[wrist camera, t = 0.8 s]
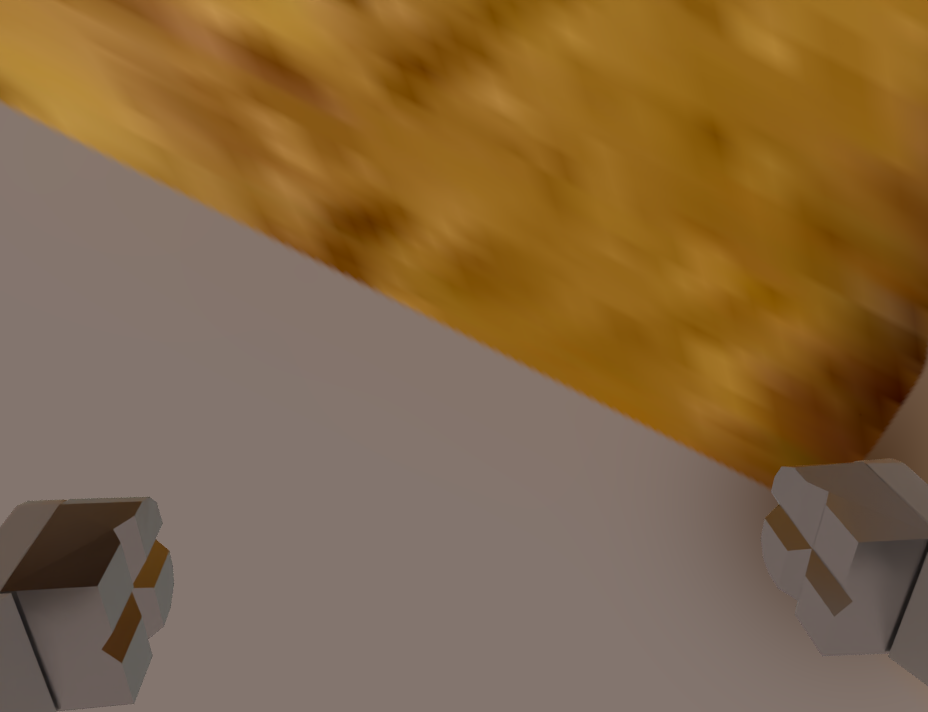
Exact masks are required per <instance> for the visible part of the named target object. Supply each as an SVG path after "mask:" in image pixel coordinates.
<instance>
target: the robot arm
mask: <svg viewBox="0 0 928 712" xmlns="http://www.w3.org/2000/svg"><path fill="white" fill-rule="evenodd" d="M771 492H772V494H773V495H774V497H775V498H776V500H777V502H778V503H779V505H778V506H777V507H776V508H775V509H774V510H773V511H772V512H771V513H770V514H769V515H768V516H767V517H766V518H765V520H764V525H763V530H762V535H761V544H762V552H763V559H764V562H765V565H766V567H767V570H768V573H769V575H770V576H771V578H772V579H773V581H774V583H775V584H776V586H777V588H778V589H780V590H782V591H783V592H785V593H787V594H788V595H790V596H791V597H793V598H795V599H796V600H798V602H797V607H796V611H795V616H796V617H797V619H798V620H799V622H800V623H801V625H802V626H803V628H804V629H805V631H806V632H807V634H808V635H809V637H810V638H811V640H812V641H813V643H814V644H815V646H816V648H817V649H818V651H819V652H820V654H821V655H822V656H833V655H834V656H835V655H862V654H885V653H889V655H888V657H889V658H891V659H892V660H893V661H895V662H896V663H897V664H899V665H900V666H901V667H903V668H904V669H905V670H907V671H908V672H910V673H911V674H912V675H914V676H915V677H916V678H918V679H919V680H920V681H922V682H923V683H924V684H926V685H927V686H928V484H926V483H925V482H924V481H923V480H922V479H921V478H920V477H919V476H917V474H915V473H914V472H913V471H912V470H911V469H910V468H909V467H908V466H907V465H905V464H904V463H902V462H900V461H897V460H895V459H891V458H890V459H878V460H865V461H855V462H854V463H837V464H819V465H801V466H782V467H781V469H780V470H779V471H778V473H777V474H776V476H775V479H774V483H773V486H772V490H771ZM161 526H162V519H161V516H160V512H159V509H158V505H157V502H156V501H154V500H153V499H152V498H150V497H130V498H93V499H69V500H43V501H27V502H25V503H22V504H20V505H18V506H17V507H16V508H15V509H14V510H13V511H12V512H11V514H10V515H9V516H8V518H7V519H6V520H5V522H4V523H3V524H2V525H1V527H0V712H57V711H65V710H75V709H85V708H95V707H106V706H116V705H127V704H134V703H135V700H136V697H137V695H138V692H139V690H140V687H141V685H142V682H143V679H144V677H145V674H146V671H147V669H148V667H149V664H150V661H151V659H152V652H151V648H150V645H149V641H148V639H149V638H150V637H152V636H153V635H154V634H155V633H156V632H158V631H159V630H160V629H161V628H162V627H163V626H164V625H165V622H166V619H167V616H168V613H169V610H170V608H171V600H172V594H173V586H174V578H173V565H172V560H171V556H170V551H169V550H168V549H167V548H165V547H164V546H163V545H162V544H161V543H159V542H158V541H157V540H156V537H157V535H158V533H159V530H160V528H161Z"/></svg>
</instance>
